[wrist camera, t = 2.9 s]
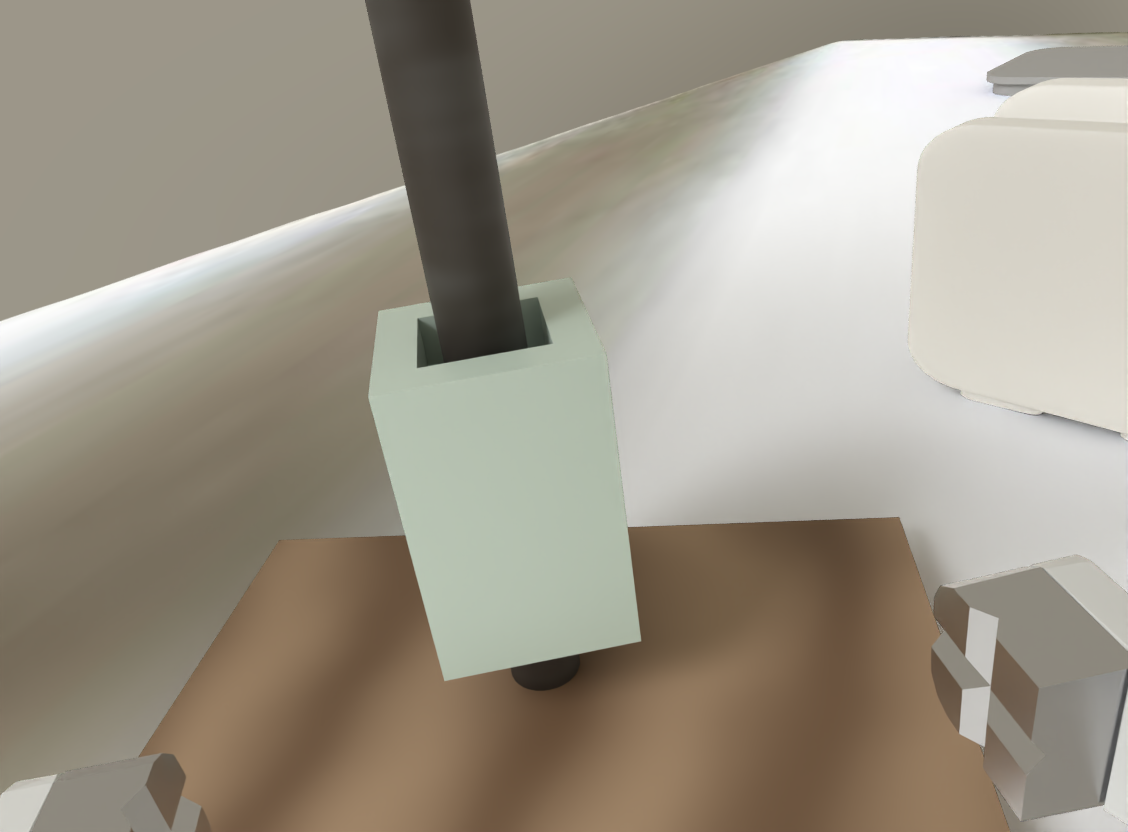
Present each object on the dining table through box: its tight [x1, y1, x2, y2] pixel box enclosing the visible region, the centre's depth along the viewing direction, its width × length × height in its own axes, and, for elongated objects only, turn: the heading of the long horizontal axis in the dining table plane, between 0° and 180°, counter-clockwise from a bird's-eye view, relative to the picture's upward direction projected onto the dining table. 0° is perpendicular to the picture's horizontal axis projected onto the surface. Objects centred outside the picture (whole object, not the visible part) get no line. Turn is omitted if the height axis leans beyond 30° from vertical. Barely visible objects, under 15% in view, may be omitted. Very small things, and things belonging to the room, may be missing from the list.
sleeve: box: [368, 277, 641, 681], centre depth 22 cm, size 5×5×8 cm
